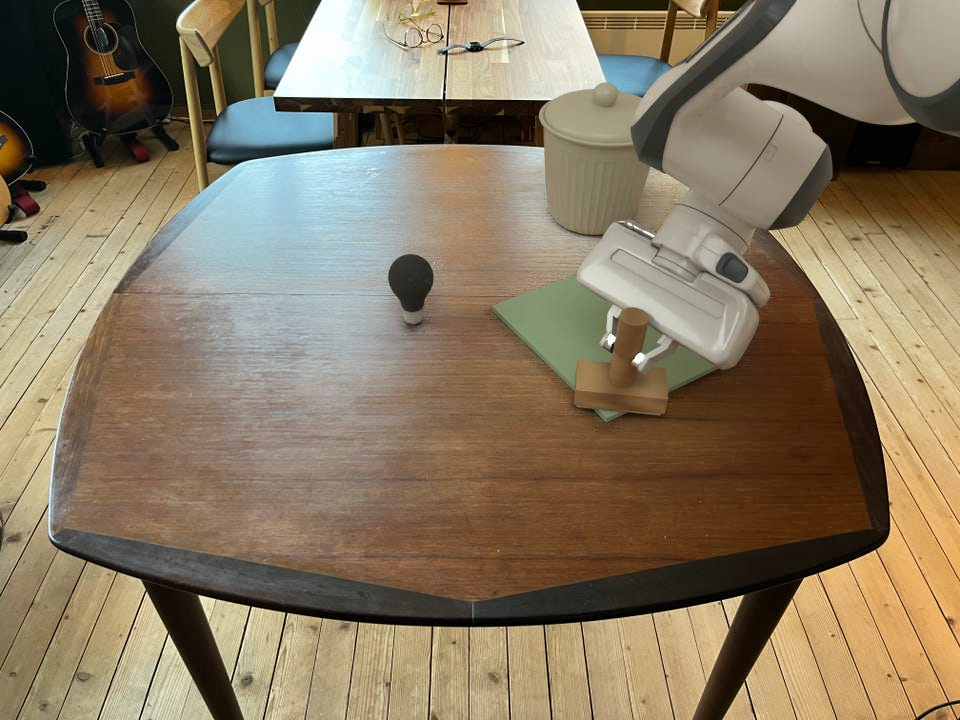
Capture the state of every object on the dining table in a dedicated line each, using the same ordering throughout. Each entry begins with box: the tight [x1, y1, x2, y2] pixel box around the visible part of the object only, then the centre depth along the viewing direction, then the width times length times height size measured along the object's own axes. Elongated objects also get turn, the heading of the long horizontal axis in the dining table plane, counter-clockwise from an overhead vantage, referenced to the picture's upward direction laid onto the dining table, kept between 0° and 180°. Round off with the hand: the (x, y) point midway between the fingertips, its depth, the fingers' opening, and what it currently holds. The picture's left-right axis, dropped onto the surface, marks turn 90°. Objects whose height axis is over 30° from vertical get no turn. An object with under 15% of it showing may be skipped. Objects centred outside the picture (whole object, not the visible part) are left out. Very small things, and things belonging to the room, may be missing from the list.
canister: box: [538, 81, 651, 236], centre depth 108 cm, size 18×18×21 cm
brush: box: [573, 307, 669, 416], centre depth 80 cm, size 10×5×12 cm, turn 83°
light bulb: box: [387, 253, 435, 325], centre depth 92 cm, size 6×6×10 cm
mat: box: [491, 273, 720, 423], centre depth 93 cm, size 24×20×1 cm
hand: (621, 360), depth 79 cm, fingers closed on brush, 3 cm apart
